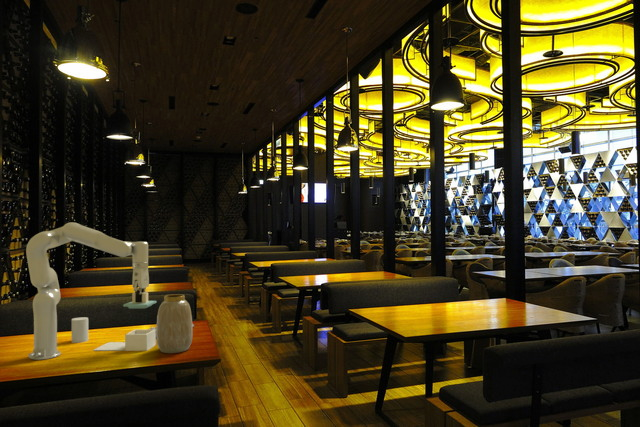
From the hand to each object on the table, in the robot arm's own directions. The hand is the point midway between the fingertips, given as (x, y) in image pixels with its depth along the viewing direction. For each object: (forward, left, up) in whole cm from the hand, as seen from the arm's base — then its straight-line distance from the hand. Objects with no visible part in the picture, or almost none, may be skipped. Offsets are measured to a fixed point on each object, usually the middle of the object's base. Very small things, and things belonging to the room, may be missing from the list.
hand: (140, 301), depth 236 cm
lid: (0, 0, -3) cm, 3 cm away
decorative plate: (+34, -3, -24) cm, 42 cm away
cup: (+15, +40, -24) cm, 49 cm away
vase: (-4, -19, -24) cm, 31 cm away
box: (0, 0, -24) cm, 24 cm away
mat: (+2, +14, -24) cm, 27 cm away
